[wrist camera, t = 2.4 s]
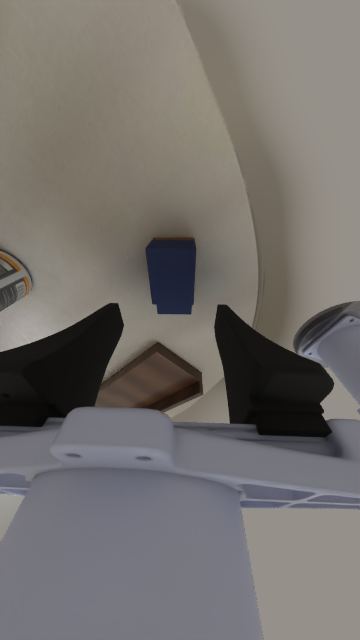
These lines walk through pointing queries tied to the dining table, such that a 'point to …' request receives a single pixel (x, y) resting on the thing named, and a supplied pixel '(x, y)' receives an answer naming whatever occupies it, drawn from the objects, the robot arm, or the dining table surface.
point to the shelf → (152, 382)
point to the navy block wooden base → (172, 274)
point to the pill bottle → (12, 281)
